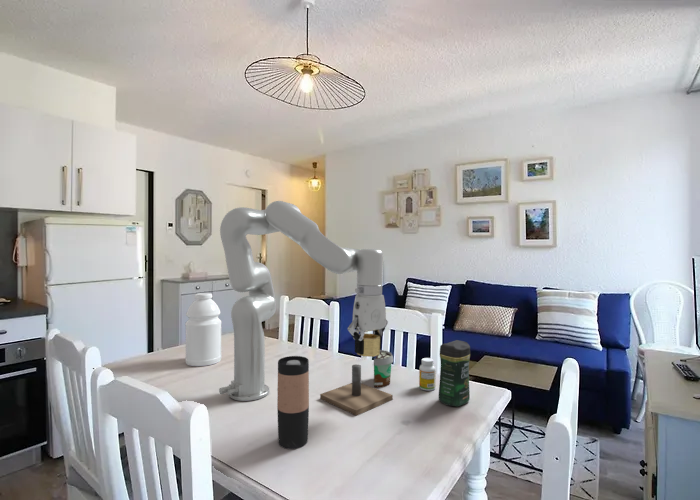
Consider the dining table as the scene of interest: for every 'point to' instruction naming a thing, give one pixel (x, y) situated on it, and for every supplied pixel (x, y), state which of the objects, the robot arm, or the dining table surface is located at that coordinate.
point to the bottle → (203, 332)
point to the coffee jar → (454, 373)
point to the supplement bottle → (427, 375)
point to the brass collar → (371, 345)
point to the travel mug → (293, 401)
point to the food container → (382, 369)
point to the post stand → (356, 395)
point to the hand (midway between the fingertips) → (368, 350)
